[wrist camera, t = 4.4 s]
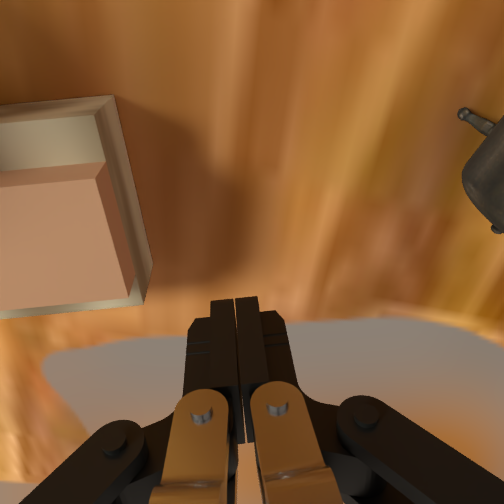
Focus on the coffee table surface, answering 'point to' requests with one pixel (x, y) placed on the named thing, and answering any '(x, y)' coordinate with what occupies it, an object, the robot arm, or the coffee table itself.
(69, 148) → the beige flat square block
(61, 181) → the pink block
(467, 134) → the coffee table surface
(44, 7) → the coffee table surface
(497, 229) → the alarm clock
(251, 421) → the robot arm
